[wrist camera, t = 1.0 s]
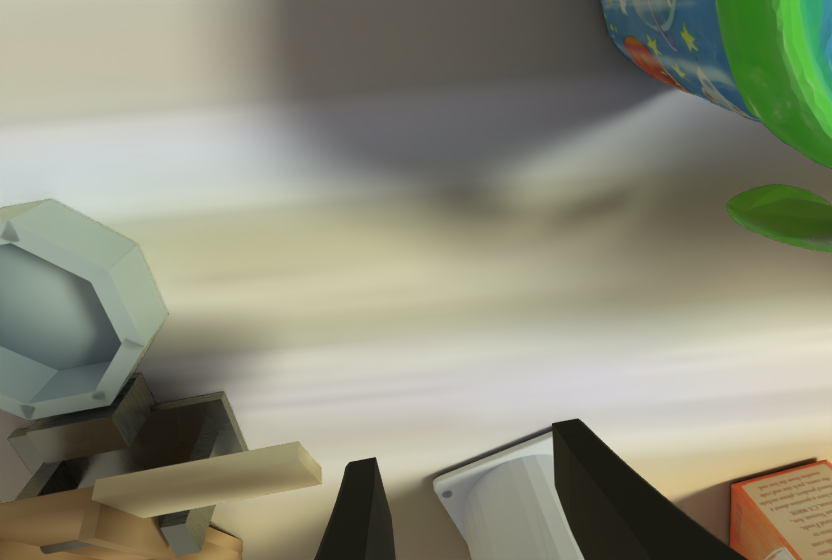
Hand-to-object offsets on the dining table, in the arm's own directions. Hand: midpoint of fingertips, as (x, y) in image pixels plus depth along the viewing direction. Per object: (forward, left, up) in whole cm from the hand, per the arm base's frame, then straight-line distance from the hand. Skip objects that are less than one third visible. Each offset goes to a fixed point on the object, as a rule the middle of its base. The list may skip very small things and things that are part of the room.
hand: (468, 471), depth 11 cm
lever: (-4, +12, -7) cm, 15 cm away
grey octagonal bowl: (+6, +13, -10) cm, 17 cm away
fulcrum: (-2, +15, -10) cm, 18 cm away
